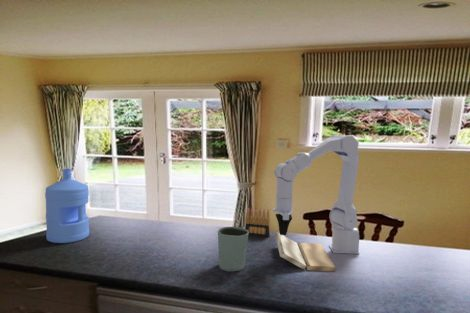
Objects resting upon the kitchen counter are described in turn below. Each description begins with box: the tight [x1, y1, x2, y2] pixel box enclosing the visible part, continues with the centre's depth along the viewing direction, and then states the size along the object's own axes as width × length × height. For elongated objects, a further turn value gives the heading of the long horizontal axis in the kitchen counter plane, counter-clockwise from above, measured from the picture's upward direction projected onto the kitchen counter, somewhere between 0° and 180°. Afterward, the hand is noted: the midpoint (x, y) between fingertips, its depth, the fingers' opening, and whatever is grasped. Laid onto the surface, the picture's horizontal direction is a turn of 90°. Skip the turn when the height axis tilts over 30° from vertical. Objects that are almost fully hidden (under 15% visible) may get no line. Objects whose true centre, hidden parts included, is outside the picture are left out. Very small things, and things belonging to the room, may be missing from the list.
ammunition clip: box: [244, 207, 271, 238], centre depth 143 cm, size 11×2×12 cm, turn 75°
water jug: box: [44, 168, 90, 244], centre depth 135 cm, size 16×16×28 cm
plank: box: [274, 231, 306, 270], centre depth 120 cm, size 9×22×2 cm, turn 177°
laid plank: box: [297, 242, 336, 272], centre depth 120 cm, size 9×22×2 cm, turn 177°
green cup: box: [217, 226, 249, 272], centre depth 111 cm, size 10×10×12 cm
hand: (282, 234), depth 120 cm, fingers closed
